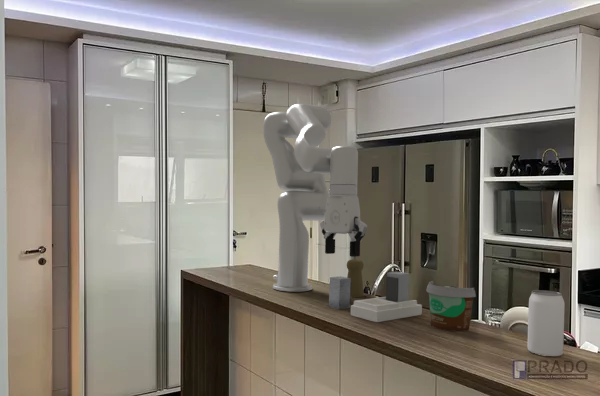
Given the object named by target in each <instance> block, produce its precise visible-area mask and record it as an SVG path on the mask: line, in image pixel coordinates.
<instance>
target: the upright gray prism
mask: <svg viewBox="0 0 600 396" xmlns="http://www.w3.org/2000/svg"><path fill="white" fill-rule="evenodd" d="M328 289H329V292H328V293H329V294H328V307H329V308H332V309H336V310H344V309H351V303H352V297H351V278H347V277H346V276H331V277H330V276H329V288H328Z"/></svg>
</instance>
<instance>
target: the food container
mask: <svg viewBox="0 0 600 396" xmlns="http://www.w3.org/2000/svg"><path fill="white" fill-rule="evenodd" d="M426 286H427V287H426V292H427V293H428V296H429V312H430V326H431V327H433V328H435V329H438V330H442V331H451V332H466V331H467V332H468V331H470V325H471V324H470V323H471V318H472V317H471V315H472V309H473V308H472V307H473V301H474V298H476V297H477V295H476V290H475V287H456V286H453V285H446V286H445V285H437V284H434V280H431V281H429V282H428V284H427V285H426Z"/></svg>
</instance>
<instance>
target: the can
mask: <svg viewBox="0 0 600 396" xmlns="http://www.w3.org/2000/svg"><path fill="white" fill-rule="evenodd" d="M527 315H528V317H527V320H528V322H527V343H526V344H527V351H528V352H529V353H530V354H533V353H535V354H540V355H546V356H559V357H561V356H562V355H563V354H564V333H565V331H564V330H565V300H564V298H563V294H562V293H561V292H558V291H553V290H543V289H542V290H540V289H539V290H537V289H535V290H531V294H530V296H529V298H528V314H527ZM535 354H534V355H535ZM560 355H561V356H560Z"/></svg>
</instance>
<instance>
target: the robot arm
mask: <svg viewBox="0 0 600 396" xmlns="http://www.w3.org/2000/svg"><path fill="white" fill-rule="evenodd" d="M331 124H332V115H331V112H330V111H329V110H328V108H326V107H325V106H322V105H317V104H316V105H315V104H307V103H296V104H293V105H291V106H290V107H289V108H288V109H287V111H274V112H271V113H269V114H267V115H266V117H265V118H264V120H263V125H262V128H263V129H262V131H263V132H262V133H263V138H264V142H265V145H266V147H267V150H268V151H269V153H270V156H271V159H272V165H273V170H274V174H275V178H276V182H277V186H278V187H279V189H280V190H282V191H284V192H282V193H281V194H280V195H279V196H278V198H277V212H278V213H277V214H278V219H279V221H278V222H279V236H278V237H279V241H278V242H279V245H278V267H277V268H278V271H277V272H278V273H276V274H274V275H273V277H272V278H273V279H274V280H276V283H273V285H272V289H274V290H276V291H281V292H290V293H291V292H292V293H293V292H294V293H298V292H300V293H301V292H303V293H304V292H308V291H311V290H312V289H313V285H311V284H309V283H308V279H309V277H308V276H309V275H308V273H309V249H310V248H309V247H310V246H309V245H310V235H309V230H308V228H307V227H306V226H305V223H304V221H305V222H306V221H318V222H319V221H320V223H319V226H320V228H321V234H322V235H323V239H324V244H325V245H324V252H325V254H327V255H328V254H329V255H330V254H331V255H333V254H336V238H335V237H336V235H337V234H338V235H339V234H342V235H343V234H344V235H346V234H348V236H349V237H350V239H351V240H350V241H349V256H350V257H351V258H352V257H354V258H355V257H360V256H361V242H363V238H364V237H365V236H366V235H365V234H366V232H367V229H368V224H366V223H365V222H364V221H362V220H361V208H360V201H359V200H360V199H359V196H358V177H359V171H358V170H359V169H358V167H359V150H358V149H357V147H356V146H355V147H354V146H352V145H351V146H350V145H337V146H333V147H332V148H329V147H322V146H321V147H320V145H321V144H322V143H323V142H324V140H325V138H326V132H327V131H329V128H330V127H331ZM286 138H287V139H295V141H294V147H293V145H292V143H291V142H289V141H288V140H287V139H286ZM324 175H328V176H329V189H328V188H327V187H328V186H327V183H326V180H325V177H324ZM334 238H335V239H334Z"/></svg>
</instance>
